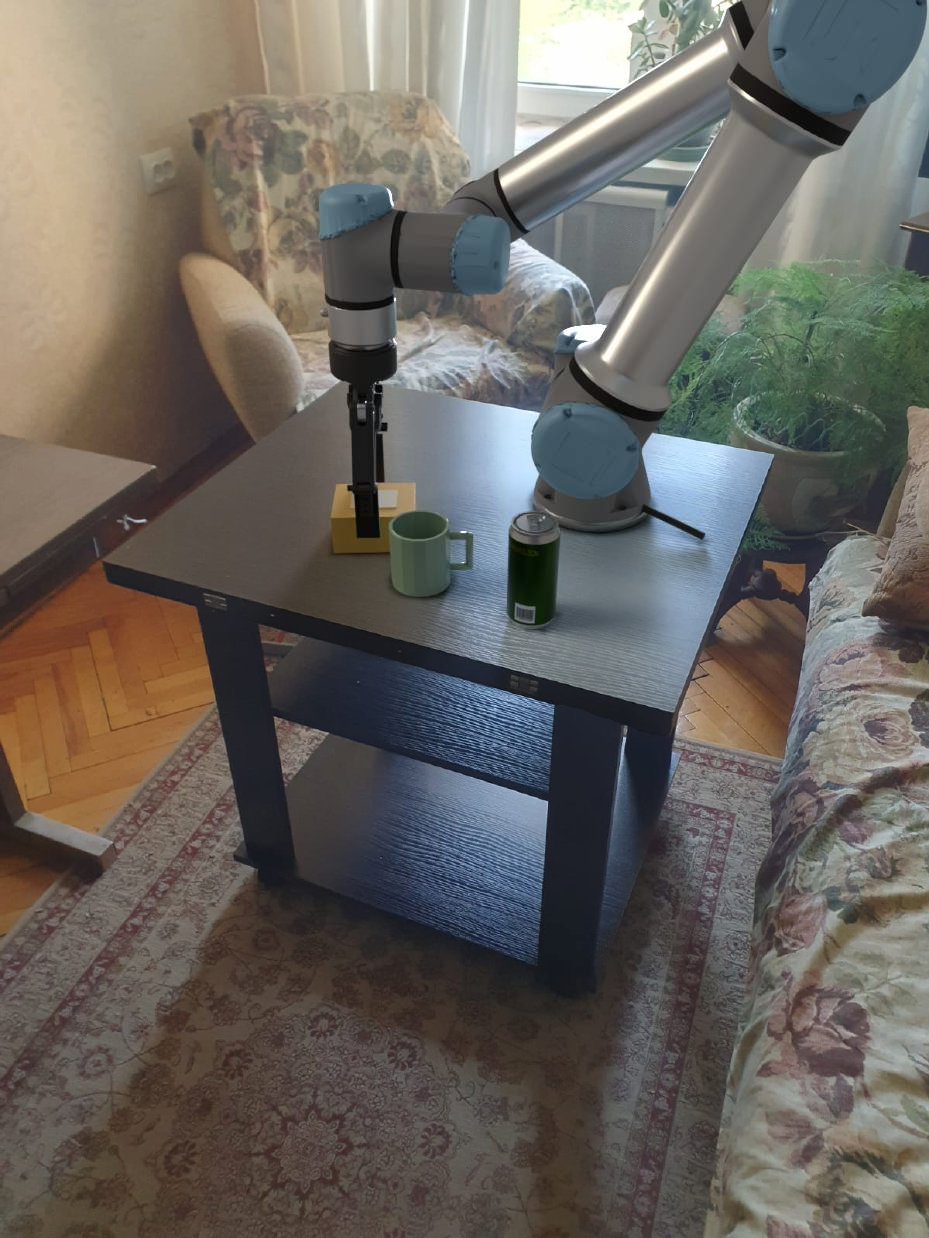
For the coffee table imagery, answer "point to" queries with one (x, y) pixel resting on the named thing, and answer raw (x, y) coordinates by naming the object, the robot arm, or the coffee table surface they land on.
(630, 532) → the coffee table surface
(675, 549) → the coffee table surface
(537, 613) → the beer can
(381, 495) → the tea packet
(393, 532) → the cup
